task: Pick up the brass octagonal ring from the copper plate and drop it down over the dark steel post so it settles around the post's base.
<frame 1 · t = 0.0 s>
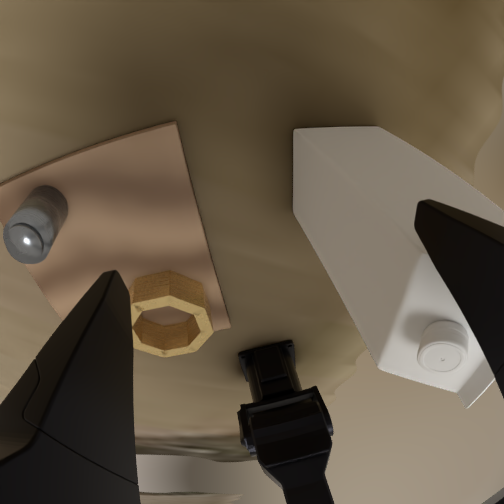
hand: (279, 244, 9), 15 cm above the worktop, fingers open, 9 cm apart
steel post: (51, 200, 21), resting on copper plate
brass ring: (166, 304, 28), point 1 cm above the worktop, touching copper plate
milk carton: (334, 167, 24), on the worktop
copper plate: (115, 262, 25), on the worktop
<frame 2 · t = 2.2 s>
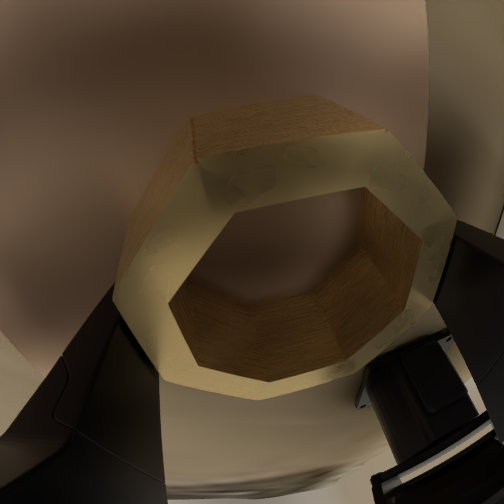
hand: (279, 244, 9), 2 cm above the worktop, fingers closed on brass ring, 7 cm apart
brass ring: (274, 233, 9), point 1 cm above the worktop, touching gripper, copper plate
copper plate: (124, 77, 7), on the worktop
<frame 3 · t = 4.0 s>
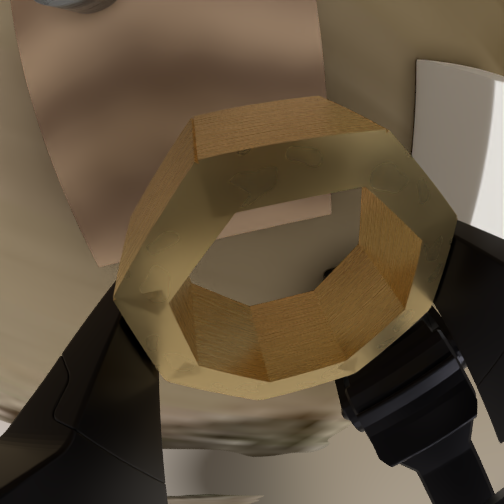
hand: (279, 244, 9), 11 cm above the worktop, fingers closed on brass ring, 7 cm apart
brass ring: (274, 233, 9), point 11 cm above the worktop, touching gripper
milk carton: (486, 68, 13), point 4 cm above the worktop
copper plate: (175, 81, 15), on the worktop
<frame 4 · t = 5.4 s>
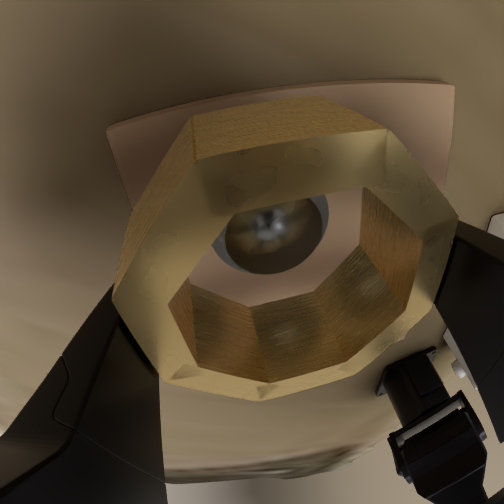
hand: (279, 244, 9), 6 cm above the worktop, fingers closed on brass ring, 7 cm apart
steel post: (240, 159, 14), resting on copper plate
brass ring: (274, 233, 9), point 6 cm above the worktop, touching gripper
copper plate: (311, 265, 18), on the worktop
when the fingers open (5 cm above the worktop, at t = 6.1 s): brass ring drops 4 cm, resting on copper plate.
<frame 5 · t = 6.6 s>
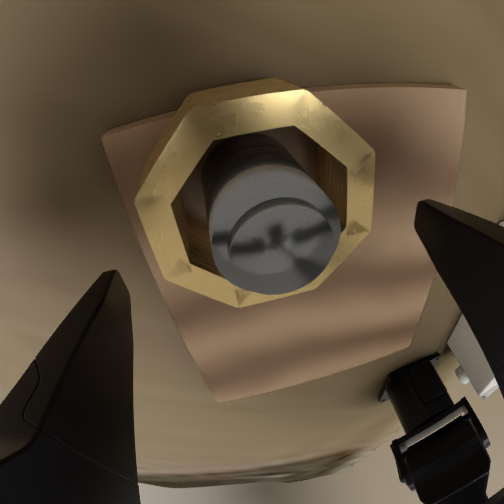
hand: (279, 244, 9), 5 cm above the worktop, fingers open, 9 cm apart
steel post: (244, 167, 13), resting on copper plate
brass ring: (248, 177, 12), point 1 cm above the worktop, touching copper plate
copper plate: (317, 275, 17), on the worktop
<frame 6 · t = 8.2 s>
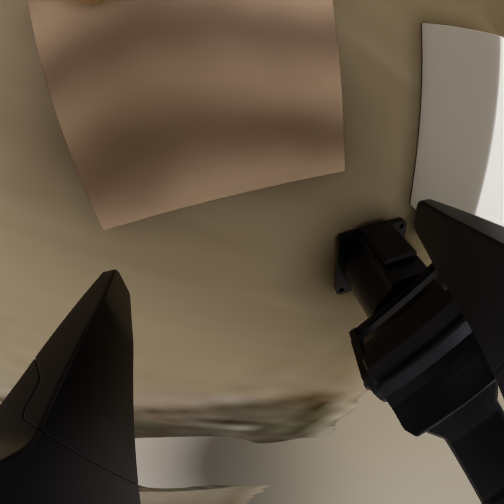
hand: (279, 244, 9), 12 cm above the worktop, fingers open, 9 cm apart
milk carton: (489, 32, 12), point 4 cm above the worktop
copper plate: (188, 34, 14), on the worktop
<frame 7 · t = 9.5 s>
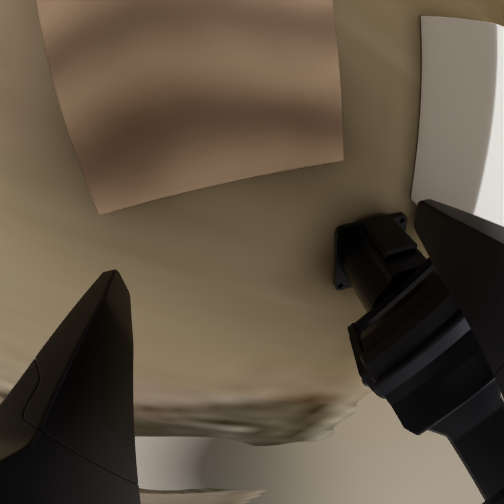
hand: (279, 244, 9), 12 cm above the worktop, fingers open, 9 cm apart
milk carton: (487, 24, 12), point 4 cm above the worktop
copper plate: (188, 22, 14), on the worktop
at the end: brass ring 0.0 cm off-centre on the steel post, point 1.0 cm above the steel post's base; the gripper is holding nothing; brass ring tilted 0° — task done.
